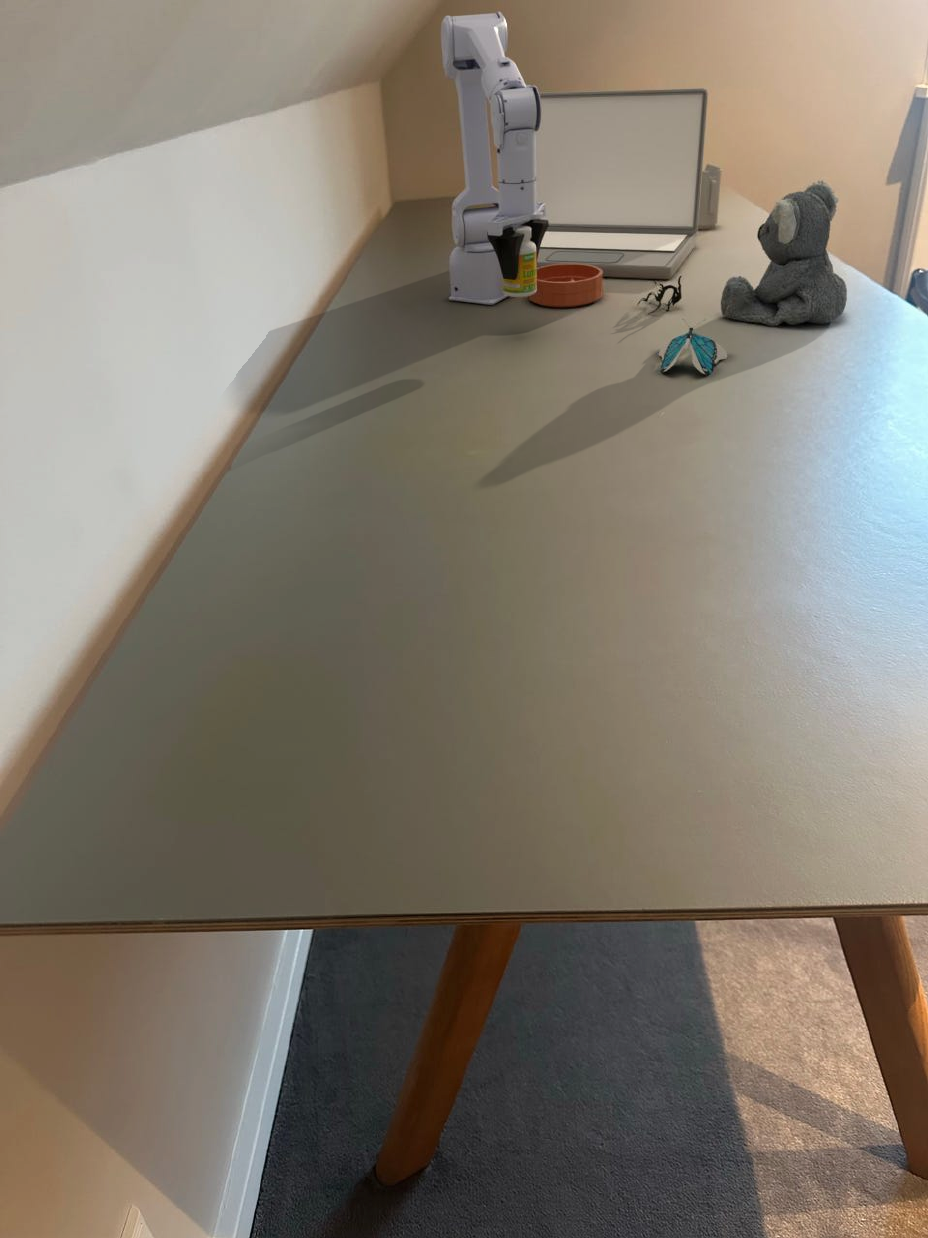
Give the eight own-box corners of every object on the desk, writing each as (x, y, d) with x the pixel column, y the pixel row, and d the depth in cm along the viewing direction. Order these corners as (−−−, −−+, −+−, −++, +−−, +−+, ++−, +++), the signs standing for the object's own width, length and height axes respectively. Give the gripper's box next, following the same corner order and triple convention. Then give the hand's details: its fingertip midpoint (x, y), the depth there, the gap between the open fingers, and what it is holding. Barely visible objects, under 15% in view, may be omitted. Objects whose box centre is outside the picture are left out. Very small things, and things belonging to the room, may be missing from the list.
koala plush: (767, 294, 164) (782, 172, 153) (866, 311, 153) (889, 181, 142) (711, 318, 155) (723, 190, 144) (812, 338, 144) (833, 201, 133)
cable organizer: (699, 218, 217) (703, 161, 210) (723, 229, 207) (728, 169, 200) (672, 222, 216) (675, 164, 209) (694, 232, 206) (699, 172, 199)
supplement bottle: (526, 298, 146) (525, 233, 141) (496, 295, 149) (494, 230, 143) (542, 289, 150) (542, 225, 144) (513, 286, 152) (511, 223, 147)
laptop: (489, 273, 187) (483, 109, 171) (533, 241, 208) (531, 92, 192) (669, 281, 175) (681, 105, 159) (696, 245, 196) (709, 87, 180)
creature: (637, 321, 159) (685, 311, 157) (632, 290, 157) (680, 278, 154) (640, 308, 166) (685, 297, 163) (634, 277, 163) (680, 266, 160)
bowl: (515, 304, 168) (514, 278, 166) (550, 285, 177) (549, 260, 175) (581, 312, 162) (582, 285, 160) (614, 292, 171) (614, 266, 169)
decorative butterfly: (647, 349, 132) (660, 311, 138) (647, 388, 137) (659, 350, 143) (721, 353, 129) (731, 314, 135) (718, 393, 134) (727, 353, 140)
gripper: (516, 190, 133) (518, 288, 141) (563, 172, 143) (563, 264, 151) (474, 188, 137) (478, 283, 144) (523, 170, 146) (525, 261, 154)
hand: (519, 274), depth 148 cm, fingers closed on supplement bottle, 5 cm apart
